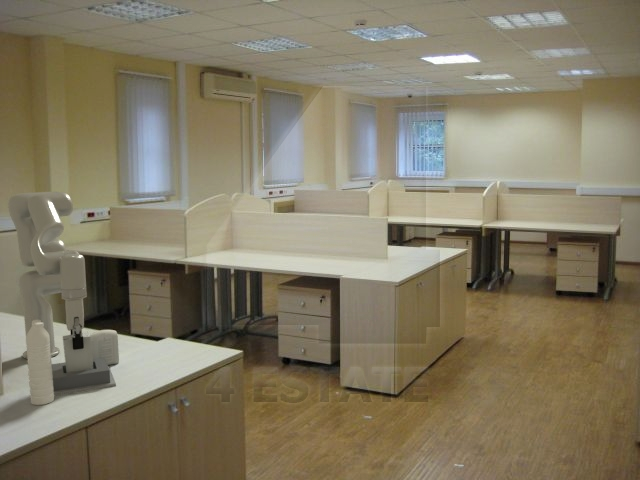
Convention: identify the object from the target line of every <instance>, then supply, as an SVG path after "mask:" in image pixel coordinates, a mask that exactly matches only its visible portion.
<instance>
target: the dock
mask: <svg viewBox="0 0 640 480" xmlns="http://www.w3.org/2000/svg"><path fill="white" fill-rule="evenodd" d="M92 360H93V369H90V370H83V371H76V372H69V373H67V372H66V363H65V361H64V362H59V363H52V366H51V367H52V375H53V379H52V380H53V388H54V390H53V392H54V397H55V396H60V395H66V394H73V393H80V392H85V391H86V392H87V391H91V390H92V391H93V390H99V389H105V388H106V389H107V388H110V387H111V388H112V387H116V386H117V383H116V381H115V378H114V375H113V372H112V370H111V368H110V366H109V365H107V362H106V360H105V357H101V358H94V359H92Z"/></svg>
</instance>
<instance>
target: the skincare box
mask: <svg viewBox="0 0 640 480" xmlns="http://www.w3.org/2000/svg"><path fill="white" fill-rule="evenodd" d="M89 334H90V333H89V332H88V331H87V332H82V336H83V343H84V348H83V349H77V350H73V342H72V337H73V335H71V334H67V335H62V343H63V345H62V346H63V352H64V362H65V363H66V372H67V373H69V372H76V371H83V370H90V369H93V360H92V349H91V337H90V335H89Z"/></svg>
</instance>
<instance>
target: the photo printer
mask: <svg viewBox="0 0 640 480" xmlns="http://www.w3.org/2000/svg"><path fill="white" fill-rule="evenodd" d="M89 335H90V337H91V349H92V359H94V358H101V357H105V360H106V362H107V365H108V366H110V365H116V364H119V363H120V353H119V352H120V351H119V335H118V332H117V331H116V330H113V329H101V330H97V331H93V332H91V333H89Z"/></svg>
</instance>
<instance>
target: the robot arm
mask: <svg viewBox="0 0 640 480" xmlns="http://www.w3.org/2000/svg"><path fill="white" fill-rule="evenodd" d="M7 205H8V207H7V208H8V213H9V216H10V219H11V220H12V223H13V224H14V227H15V231H16V235H17V236H16V237H17V243H18V244H17V245H18V252H19V259H20V262H21V264H22V266H24V267H26V268H27V267H29V268H35V270H28V271H25V272H23V273H22V274H21V275H20V276H19V277H18V288H19V292H20V295H21V300H22V307H23V316H24V317H23V319H24V320H23V321H24V328H25V329H24V330H25V336H26V335H27V333H28V332H29V330H30V329H31V327H32V321H33V320H41V322H43V323H44V326H43V327H44V328H45V329H46V331H47V332H48V333H49V336H50V351H51V358H52V357H54V356H58V354H60V352H61V351H60V348H59V347H57V346H56V345H55V344H56V343H55V332H54V319H53V309H52V308H53V307H52V305H51V304H50V302H49V301H48V300H47V299H46V298H45V296H49V295H54V294H61V300H64V301H65V302H64V305H65V307H64V308H65V322H66V323H65V325H66V329H67V331H69V332H70V335H73V337H72V342H73V350H77V349H83V348H84V343H83V336H82V333H83V329H84V328H85V320H84V319H85V313H84V299H85V298H87V297H88V296H87V294H88V293H87V281H86V279H87V277H86V261H85V257H84V255H83V254H80V253H79V252H78V251H77V250H74V249H70V250H67V247H66V244H65V243H64V241H62V240H61V239H60V238H59V237H60V236H61V235H62V234H63V232H64V229H65V226H64V223H63V221H62V219H61V217H68V216H70V215H72V213H73V211H74V203H73V201H72V198H71V197H70V195H69V194H68V193H66V192H63V191H41V192H40V191H39V192H38V191H37V192H21V193H16V194H13V195H11V196H10V197H9V199H8V203H7ZM22 357H23V359H26V360H28V358H27V357H28V356H27V350H25V351H23V352H22Z"/></svg>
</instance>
